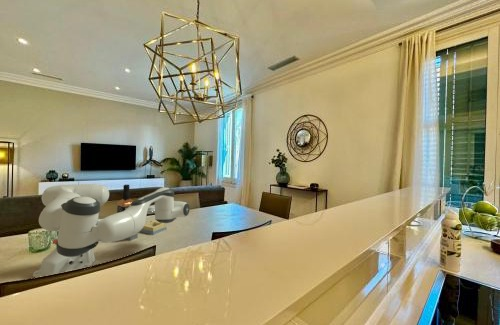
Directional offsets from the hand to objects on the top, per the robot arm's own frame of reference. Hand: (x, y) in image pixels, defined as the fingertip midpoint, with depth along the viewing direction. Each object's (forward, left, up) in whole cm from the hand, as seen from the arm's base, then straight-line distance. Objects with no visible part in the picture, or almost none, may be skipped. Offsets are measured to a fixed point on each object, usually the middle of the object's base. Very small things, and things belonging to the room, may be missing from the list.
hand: (149, 207), depth 132 cm
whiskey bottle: (+10, +32, -22) cm, 40 cm away
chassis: (+17, +13, -22) cm, 31 cm away
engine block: (0, +14, -22) cm, 26 cm away
